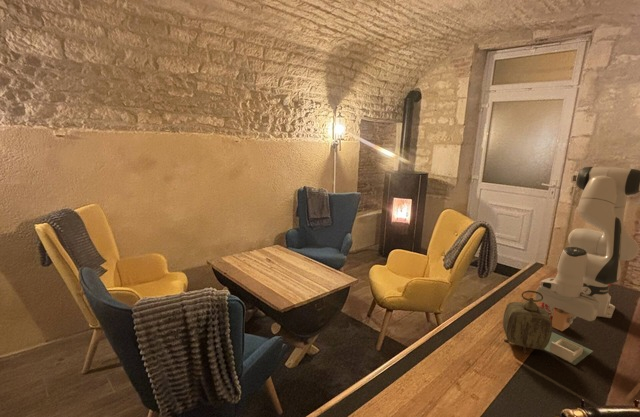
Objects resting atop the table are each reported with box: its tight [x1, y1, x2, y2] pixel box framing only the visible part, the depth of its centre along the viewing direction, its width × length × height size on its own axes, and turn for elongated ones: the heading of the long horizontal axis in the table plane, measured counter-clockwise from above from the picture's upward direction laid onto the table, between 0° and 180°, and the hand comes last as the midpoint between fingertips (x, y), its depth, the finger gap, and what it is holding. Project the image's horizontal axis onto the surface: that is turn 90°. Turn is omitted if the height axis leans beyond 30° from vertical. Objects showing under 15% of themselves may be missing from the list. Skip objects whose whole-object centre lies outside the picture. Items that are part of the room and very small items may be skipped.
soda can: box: [540, 302, 558, 320], centre depth 147 cm, size 7×7×12 cm
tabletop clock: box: [502, 290, 553, 354], centre depth 125 cm, size 14×9×25 cm, turn 71°
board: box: [543, 331, 594, 366], centre depth 131 cm, size 16×20×1 cm
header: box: [549, 339, 583, 363], centre depth 125 cm, size 9×7×4 cm
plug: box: [552, 309, 572, 332], centre depth 132 cm, size 6×4×8 cm, turn 122°
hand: (561, 319), depth 132 cm, fingers closed on plug, 4 cm apart
